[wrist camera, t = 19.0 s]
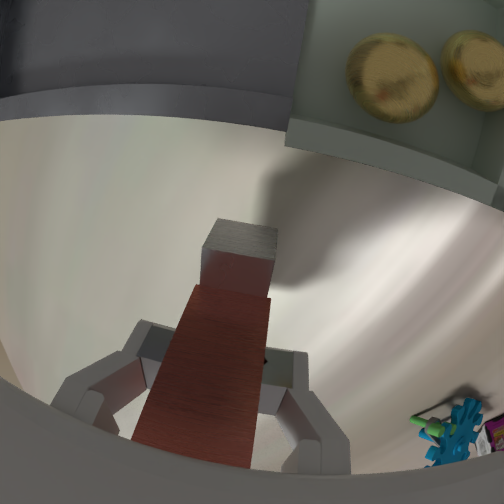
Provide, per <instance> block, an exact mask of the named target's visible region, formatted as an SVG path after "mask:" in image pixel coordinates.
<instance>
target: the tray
mask: <svg viewBox="0 0 504 504" xmlns="http://www.w3.org/2000/svg"><path fill="white" fill-rule="evenodd" d="M462 30H478V31H482V32H484V33H487V34H489V35H491V36H492V37H494V38H495V39H497V40H498V41H499V42H500V43H501V44H502V45H503V46H504V0H309V5H308V11H307V17H306V22H305V28H304V34H303V40H302V46H301V52H300V58H299V63H298V69H297V75H296V80H295V86H294V92H293V102H292V108H291V113H290V119H289V124H288V130H287V132H286V135H285V146H287V147H292V148H297V149H302V150H307V151H312V152H316V153H321V154H325V155H330V156H334V157H338V158H342V159H347V160H351V161H355V162H358V163H362V164H366V165H370V166H373V167H377V168H381V169H384V170H388V171H391V172H395V173H398V174H401V175H405V176H408V177H411V178H414V179H417V180H420V181H423V182H426V183H429V184H432V185H435V186H438V187H441V188H444V189H447V190H450V191H452V192H455V193H458V194H461V195H463V196H466V197H469V198H471V199H474V200H476V201H479V202H481V203H484V204H486V205H489V206H491V207H493V208H496V209H498V210H500V211H503V212H504V108H503V109H501V110H498V111H494V112H483V111H478V110H475V109H473V108H470V107H469V106H467V105H465V104H464V103H463V102H461V101H460V100H459V99H458V98H457V97H456V96H455V95H454V94H453V93H452V92H451V90H450V89H449V87H448V86H447V84H446V82H445V80H444V77H443V75H442V71H441V66H440V56H441V51H442V48H443V45H444V44H445V42H446V41H447V39H448V38H449V37H450V36H451V35H453V34H454V33H456V32H459V31H462ZM384 32H389V33H396V34H400V35H403V36H406V37H408V38H410V39H412V40H413V41H415V42H416V43H418V44H419V45H420V46H421V47H422V48H424V50H425V51H426V52H427V53H428V54H429V55H430V57H431V58H432V60H433V62H434V64H435V66H436V69H437V72H438V76H439V92H438V96H437V99H436V102H435V104H434V105H433V107H432V108H431V110H430V111H429V112H428V113H427V114H425V115H424V116H423V117H422V118H420V119H418V120H416V121H413V122H410V123H404V124H393V123H388V122H384V121H381V120H378V119H376V118H374V117H372V116H371V115H369V114H368V113H366V112H365V111H364V110H363V109H362V108H361V107H360V106H359V105H358V104H357V103H356V102H355V100H354V99H353V97H352V95H351V94H350V91H349V89H348V86H347V83H346V78H345V66H346V61H347V58H348V55H349V53H350V51H351V50H352V48H353V47H354V46H355V45H356V44H357V43H358V42H359V41H360V40H362V39H363V38H365V37H367V36H369V35H372V34H376V33H384Z"/></svg>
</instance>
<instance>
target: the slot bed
mask: <svg viewBox="0 0 504 504" xmlns="http://www.w3.org/2000/svg"><path fill="white" fill-rule="evenodd" d="M308 5H309V0H0V121H4V120H12V119H21V118H32V117H44V116H60V115H89V114H119V115H149V116H166V117H180V118H191V119H201V120H211V121H219V122H227V123H235V124H242V125H249V126H255V127H262V128H268V129H273V130H279V131H284V132H287V130H288V124H289V119H290V113H291V108H292V102H293V92H294V86H295V80H296V75H297V69H298V63H299V58H300V52H301V46H302V40H303V34H304V28H305V22H306V17H307V11H308Z"/></svg>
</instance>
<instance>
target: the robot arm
mask: <svg viewBox="0 0 504 504" xmlns="http://www.w3.org/2000/svg"><path fill="white" fill-rule="evenodd" d="M175 330H176V329H175V328H172V327H168V326H164V325H160V324H157V323H153V322H149V321H145V320H142V319H141V320H140V321H139V322H138V323H137V325H136V326H135V328H134V330H133V332H132V333H131V335H130V337H129V339H128V340H127V342H126V344H125V346H124V348H123V349H122V351H116V352H114V353H112V354H110V355H108V356H107V357H105V358H103V359H101V360H99V361H97V362H95V363H93V364H91V365H90V366H88V367H86V368H84V369H82V370H80V371H78V372H76V373H74V374H72V375H71V376H69V377H67V378H66V379H65V381H64V382H63V384H62V386H61V387H60V389H59V391H58V392H57V394H56V396H55V397H54V399H53V401H52V403H51V404H50V405H48V404H46V403H44V402H42V401H41V400H39V399H37V398H35V397H33V396H32V395H30V394H28V393H26V392H25V391H23V390H21V389H19V388H18V387H16V386H15V385H13V384H11V383H10V382H8V381H7V380H5V379H3V378H2V377H0V504H504V451H496V452H493V453H489V454H486V455H483V456H479V457H475V458H471V459H467V460H463V461H458V462H454V463H449V464H444V465H439V466H433V467H427V468H421V469H414V470H406V471H397V472H387V473H373V474H351V460H350V442H349V439H348V438H347V437H346V435H345V434H344V433H343V431H342V430H341V429H340V427H339V426H338V425H337V423H336V422H335V421H334V419H333V418H332V417H331V415H330V414H329V413H328V411H327V410H326V408H325V407H324V406H323V404H322V403H321V402H320V400H319V399H318V398H317V396H316V395H315V393H314V392H313V391H309V369H308V354H307V352H299V351H292V350H286V349H279V348H272V347H266V349H265V357H264V366H263V374H262V382H261V390H260V398H259V406H258V413H262V414H268V415H274V416H275V417H276V419H277V421H278V423H279V425H280V427H281V429H282V431H283V433H284V435H285V436H286V438H287V440H288V442H289V444H290V446H291V448H292V450H293V452H292V453H291V454H290V456H289V457H288V458H287V460H286V461H285V462H284V463H283V465H282V466H281V472H274V471H264V470H256V469H249V468H242V467H236V466H230V465H224V464H219V463H214V462H209V461H204V460H199V459H195V458H191V457H187V456H183V455H179V454H175V453H171V452H168V451H164V450H161V449H157V448H154V447H150V446H147V445H144V444H141V443H138V442H135V441H132V440H129V439H126V438H124V437H121V436H118V434H119V431H120V430H119V427H118V425H117V423H116V421H115V419H114V417H113V414H115V413H116V412H118V411H119V410H120V409H122V408H123V407H124V406H126V405H127V404H128V403H130V402H131V401H132V400H134V399H135V398H136V397H137V396H139V395H140V394H141V393H143V392H144V391H145V390H146V388H148V389H151V387H152V385H153V383H154V380H155V378H156V375H157V373H158V370H159V368H160V366H161V363H162V361H163V358H164V356H165V354H166V351H167V349H168V347H169V344H170V342H171V340H172V337H173V335H174V333H175Z"/></svg>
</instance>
